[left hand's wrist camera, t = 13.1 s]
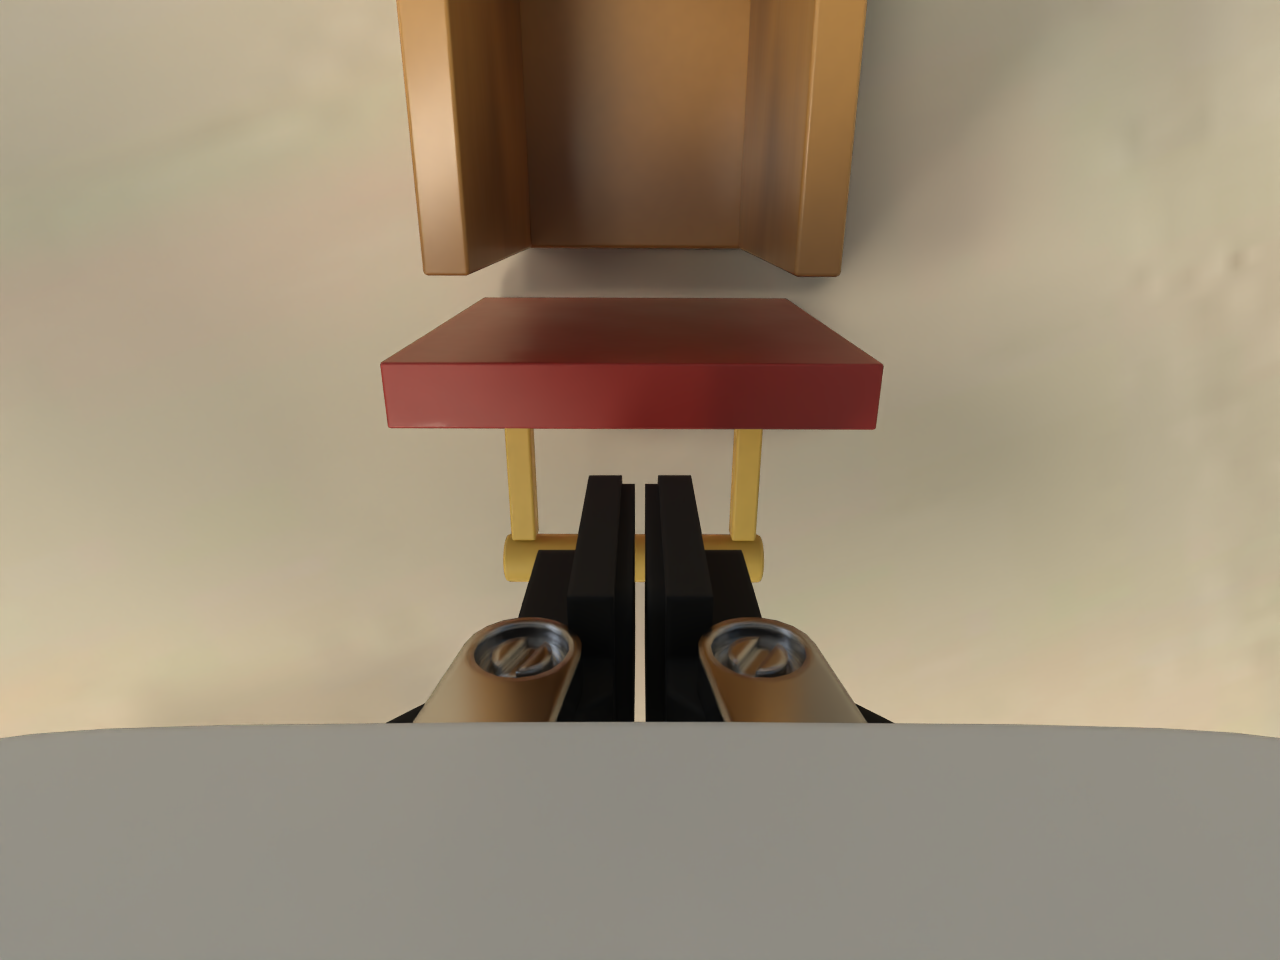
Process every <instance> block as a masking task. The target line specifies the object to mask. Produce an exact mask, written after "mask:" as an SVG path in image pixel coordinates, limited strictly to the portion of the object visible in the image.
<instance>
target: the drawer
mask: <svg viewBox="0 0 1280 960" xmlns="http://www.w3.org/2000/svg"><path fill="white" fill-rule="evenodd" d="M396 2H397V12H398V22H399V32H400V42H401V52H402V62H403V72H404V83H405V93H406V103H407V113H408V123H409V133H410V143H411V153H412V163H413V173H414V183H415V193H416V203H417V213H418V223H419V233H420V243H421V253H422V263H423V271H424V273H425V274H426V275H469V274H471V273H473V272H476V271H478V270H480V269H482V268H485V267H487V266H489V265H492V264H494V263H496V262H498V261H501V260H503V259H505V258H508V257H510V256H512V255H515V254H517V253H519V252H521V251H524V250H526V249H528V248H722V249H742V250H744V251H746V252H748V253H750V254H752V255H754V256H756V257H759V258H761V259H763V260H765V261H767V262H769V263H771V264H773V265H775V266H777V267H779V268H781V269H783V270H785V271H787V272H789V273H791V274H793V275H795V276H798V277H836V276H839V274H840V272H841V264H842V254H843V243H844V233H845V223H846V213H847V203H848V193H849V183H850V172H851V162H852V152H853V142H854V132H855V122H856V111H857V101H858V91H859V81H860V71H861V61H862V50H863V40H864V30H865V20H866V10H867V0H396ZM380 367H381V374H382V382H383V390H384V398H385V406H386V414H387V422H388V427H389V428H505V441H506V456H507V471H508V486H509V501H510V517H511V532H512V534H509V535H508V536H507V538H506V540H505V545H504V554H503V566H504V574H505V577H506V580H508V581H510V582H529V579H530V576H531V572H532V569H533V565H534V562H535V559H536V555H537V552H538V550H575V549H576V543H577V538H578V534H537V533H538V530H539V526H538V507H537V488H536V468H535V449H534V429H734V444H733V464H732V483H731V502H730V522H729V532H730V534H702V538H703V543H704V549H705V550H742V552H743V555H744V559H745V562H746V565H747V569H748V572H749V576H750V579H751V582H759V581H761V579H762V576H763V570H764V550H763V543H762V540H761V537H760V536H759V535H756V523H757V508H758V493H759V478H760V463H761V448H762V433H763V429H835V430H873V429H875V428H876V422H877V414H878V406H879V398H880V390H881V382H882V374H883V364H882V363H880V362H879V361H877V360H876V359H874V358H873V357H871V356H870V355H868V354H867V353H865V352H864V351H862V350H861V349H860V348H858V347H857V346H855V345H854V344H852V343H851V342H849V341H848V340H846V339H845V338H843V337H842V336H840V335H839V334H837V333H836V332H834V331H833V330H832V329H830V328H829V327H827V326H826V325H824V324H823V323H821V322H820V321H818V320H817V319H815V318H814V317H812V316H811V315H809V314H808V313H807V312H805V311H804V310H802V309H801V308H799V307H798V306H796V305H795V304H793V303H792V302H790V301H789V300H787V299H785V298H483V299H481V300H480V301H478V302H477V303H475V304H474V305H472V306H470V307H469V308H467V309H466V310H464V311H462V312H461V313H459V314H458V315H456V316H454V317H453V318H451V319H450V320H448V321H446V322H445V323H443V324H442V325H440V326H439V327H437V328H435V329H434V330H432V331H431V332H429V333H427V334H426V335H424V336H423V337H421V338H419V339H418V340H416V341H415V342H413V343H411V344H410V345H408V346H407V347H405V348H404V349H402V350H400V351H399V352H397V353H396V354H394V355H392V356H391V357H389V358H388V359H386V360H384V361H383V362H381V364H380ZM635 582H645V534H635Z"/></svg>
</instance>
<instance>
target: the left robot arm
mask: <svg viewBox="0 0 1280 960" xmlns="http://www.w3.org/2000/svg"><path fill="white" fill-rule="evenodd" d="M634 704H635V484H622V475H589V479H588V484H587V489H586V495H585V500H584V505H583V511H582V516H581V522H580V527H579V532H578V538H577V543H576V549H575V550H538V552H537V555H536V559H535V562H534V565H533V569H532V572H531V576H530V579H529V583H528V586H527V589H526V593H525V596H524V600H523V603H522V607H521V610H520V613H519V617H518V618H515V619H509V620H503V621H500V622H498V623H495V624H492V625H489V626H487V627H485V628H483V629H482V630H480V631H478V632H477V633H475V634H474V635H473V636H472V637H471V638H470V639H469V640H468V641H467V642H466V643H465V644H464V646H463V647H462V649H461V650H460V652H459V653H458V655H457V656H456V658H455V659H454V661H453V662H452V664H451V665H450V667H449V668H448V670H447V671H446V673H445V674H444V676H443V677H442V679H441V680H440V682H439V683H438V685H437V686H436V688H435V689H434V691H433V693H432V694H431V696H430V697H429V699H428V700H427V702H426V703H425V704H423V705H421V706H419V707H417V708H415V709H413V710H411V711H409V712H407V713H405V714H403V715H401V716H399V717H397V718H395V719H393V720H391V721H389V722H387V723H376V724H283V725H215V726H183V727H151V728H118V729H97V730H82V731H68V732H54V733H40V734H30V735H22V736H15V737H7V738H0V960H1280V738H1274V737H1265V736H1257V735H1249V734H1240V733H1229V732H1213V731H1197V730H1181V729H1164V728H1132V727H1095V726H1058V725H1017V724H900V723H893V722H891V721H889V720H887V719H885V718H883V717H881V716H879V715H877V714H875V713H873V712H871V711H869V710H867V709H865V708H863V707H861V706H859V705H857V704H855V703H854V702H853V700H852V699H851V697H850V696H849V694H848V693H847V691H846V689H845V688H844V686H843V685H842V683H841V682H840V680H839V679H838V677H837V676H836V674H835V673H834V671H833V670H832V668H831V667H830V665H829V664H828V662H827V661H826V659H825V658H824V656H823V655H822V653H821V652H820V650H819V649H818V647H817V646H816V644H815V643H814V642H813V641H812V640H811V639H810V638H809V637H808V636H807V635H806V634H805V633H803V632H802V631H800V630H798V629H797V628H795V627H793V626H791V625H788V624H785V623H782V622H780V621H777V620H771V619H765V618H762V617H761V613H760V610H759V607H758V603H757V600H756V596H755V593H754V589H753V586H752V583H751V579H750V576H749V572H748V569H747V565H746V562H745V559H744V555H743V552H742V550H705V549H704V543H703V538H702V532H701V527H700V522H699V516H698V511H697V505H696V500H695V495H694V489H693V484H692V479H691V475H658V484H645V705H646V722H634Z"/></svg>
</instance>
